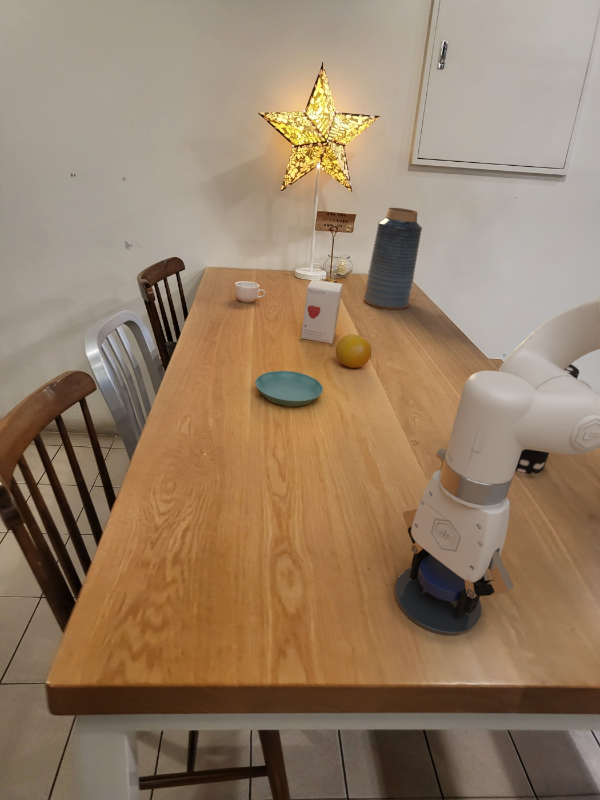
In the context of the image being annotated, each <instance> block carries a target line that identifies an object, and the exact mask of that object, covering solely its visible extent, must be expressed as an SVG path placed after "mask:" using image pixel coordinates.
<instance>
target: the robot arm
mask: <svg viewBox="0 0 600 800" xmlns="http://www.w3.org/2000/svg"><path fill="white" fill-rule="evenodd" d="M598 350H600V295H599V296H597V297H594V298H591V299H589V300H586V301H584V302H582V303H579V304H577V305H574V306H572V307H570V308H567V309H566V310H563V311H561V312H559V313H557V314H556V315H554V316H552V317H550V318H549V319H547V320H546V321H544V322H543V323H542V324H540V325H539V326H538V327H536V329H534V331H532V332H531V333H530V334H529V335H528V336H527V337H526V338H525V339H524V340H523V341H522V342H521V343H520V344H518V345H517V347H516V348H515V349H514V350H512V352H511V353H509V355H508V356H507V357H506V359H504V361H503V362H502V364H501V365H500V367H499V368H498V370H481V371H477V372H474V373H472V374H471V375H470V376H468V378H467V379H466V381H465V382H464V384H463V388H462V390H461V395H460V399H459V402H458V406H457V410H456V413H455V416H454V417H455V418H454V421H453V425H452V428H451V433H450V436H449V440H448V444H447V447H446V449H445V448H444V447H440V448H439V449H438V450H437V452H436V454H435V457H436V458H437V459H438V460H439V461H440V462H441V466H440V469H438V470H436V471H434V473H433V474H432V476H431V477H430V479H429V481H428V483H427V484H426V486H425V489H424V491H423V492H422V495H421V496H420V497H421V498H420V500H419V502H418V505H417V506H416V507H411V508H409V509H406V510H404V511H403V512H402V517H403V519H404V522H405V524H406V527H407V533H408V535H409V536H408V537H409V538H410V541H411V543H412V545H411V547H410V548H411V551H412V552H413V557H412V560H411V563H410V568H412V569H411V573H410V578H411V579H412V580H416V579H418V568H419V566H420V563H421V561H422V559H423V558H424V557H426V556H428V555H429V554H431V555H432V556H434V557H435V558H436V559H437V560H439V561H440V562H441V563H443V564H444V565H445V566H446V567H448V568H449V569H450V570H452V571H453V572H454V573H456V574H457V575H458V576H460V577H461V578H463V579H464V581H465V589H464V590H463V591H462V592H461V593H460V595H459V598H458V601H457V605H456V608H455V611H454V615H455V616H456V617H457V618H460V617H461V616H462V615H464V614H465V613H468V614H471V613H472V612H473V611H474V610H475V608H476V606H477V604H478V601H479V600H480V598H481V597H488V596H491V595H501V594H507V593H508V592H509V591H511V590H513V588H514V583H513V581H512V579H511V577H510V575H509V572H508V570H507V568H506V566H505V564H504V561H503V560H502V557H501V555H502V551H503V549H504V545H505V542H506V537H507V532H508V528H509V520H510V510H511V508H510V507H511V501H510V499H509V498H508V497H507V496H508V494H509V490H510V487H511V485H512V481H513V479H514V475H515V473H516V467H517V464H518V461H519V458H520V455H521V452H522V451H523V450H525V449H530V450H537V451H543V452H548V453H549V454H553V455H554V454H555V455H561V456H578V455H585V454H589V453H592V452H595V451H596V450H598V449H599V448H600V393H599V392H598V391H596V390H594V389H593V388H592V387H591V388H592V389H591V388H590V387H588V386H586V385H585V384H583V383H582V382H580V381H579V380H577V379H578V378H577V379H576V378H575V377H573V376H572V375H570V374H569V373H567V372H565V371H564V369H566V368H567V367H568V366H569V365H570V364H571V365H573V363H574V362H576V361H577V360H579V359H580V358H582V357H584V356H586V355H588V354H590V353H592V352H595V351H598ZM487 570H489V571H490V574H491V576H492V578H493V579H488V575H487Z"/></svg>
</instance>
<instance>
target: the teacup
mask: <svg viewBox="0 0 600 800" xmlns="http://www.w3.org/2000/svg"><path fill="white" fill-rule="evenodd" d="M260 292H263V295H260ZM234 294H235V297H236V298H237V300H238V301H240V302H241V303H245V304H246V303H247V304H248V303H249V304H250V303H253V302H255V301H256V300H257V299H262V298H264V297H265V296H266V291H265V290H264V289H263V288H260V284H259V283H257V282H254V281H247V280H241V281H236V282H235V283H234Z"/></svg>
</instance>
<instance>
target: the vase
mask: <svg viewBox="0 0 600 800" xmlns="http://www.w3.org/2000/svg"><path fill="white" fill-rule="evenodd" d="M422 230H423V227H422V225H420V224H419V222H418V211H416V210H413V209H408V208H403V207H402V208H401V207H388V209H387V212H386V215H385V217H384V218H382V219H381V220H379V221H378V222H377V229H376V234H375V237H374V243H373V248H372V249H373V250H372V254H371V259H370V262H369V269H368V273H367V277H366V283H365V286H364V291H363V300H364V302H365V303H367V304H368V305H369V306H372V307H375V308H378V309H384V310H389V311H391V310H392V311H393V310H395V311H398V310H399V311H400V310H405V309H407V307H409V305H410V302H411V296H412V291H413V284H414V279H415V272H416V265H417V259H418V254H419V248H420V242H421V236H422V232H423V231H422Z"/></svg>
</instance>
